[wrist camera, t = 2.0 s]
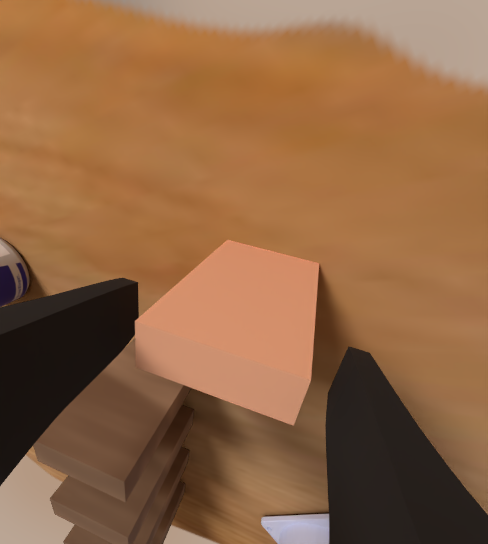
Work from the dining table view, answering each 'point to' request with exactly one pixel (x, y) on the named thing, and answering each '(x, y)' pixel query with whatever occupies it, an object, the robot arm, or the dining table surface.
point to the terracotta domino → (237, 330)
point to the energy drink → (12, 274)
